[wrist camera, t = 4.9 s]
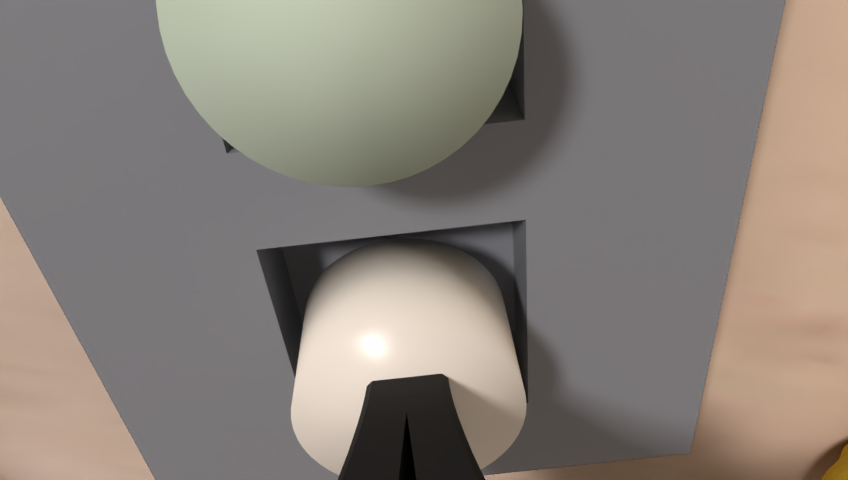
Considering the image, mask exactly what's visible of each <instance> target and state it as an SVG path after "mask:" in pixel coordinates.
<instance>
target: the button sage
mask: <svg viewBox="0 0 848 480" xmlns="http://www.w3.org/2000/svg"><path fill="white" fill-rule="evenodd" d="M156 8H157V15H158V23H159V30H160V33H161V37H162V41H163V45H164V49H165V52H166V55H167V57H168V60H169V62H170V65H171V67H172V70H173V72H174V75H175V76H176V78H177V80H178V82H179V84H180V85H181V87H182V89H183V91H184V93H185V95H186V96H187V97H188V99H189V100H190V102H191V103H192V104H193V106H194V107H195V109H196V110H197V111H198V113H199V114H200V115H201V116H202V117H203V119H204V120H205V121H206V122H207V123H208V124H209V125H210V126H211V127H212V129H213V130H214V131H215V132H216V133H218V134H219V135H220V136H221V137H222V138H223V139H224V140H226V141H227V142H228V143H229V144H230V145H231V146H233V147H234V148H236V149H237V150H238V151H240V152H241V153H243V154H244V155H245V156H247V157H248V158H250V159H252V160H254V161H255V162H257V163H259V164H261V165H263V166H265V167H266V168H268V169H271V170H273V171H275V172H278V173H280V174H283V175H285V176H288V177H291V178H294V179H298V180H301V181H305V182H308V183H314V184H320V185H326V186H338V187H361V186H373V185H379V184H384V183H390V182H393V181H397V180H400V179H404V178H407V177H410V176H412V175H415V174H417V173H420V172H422V171H424V170H427V169H429V168H430V167H432V166H434V165H436V164H437V163H439V162H441V161H443V160H444V159H446V158H447V157H449V156H450V155H451V154H453V153H454V152H455V151H457V150H458V149H459V148H461V147H462V146H463V145H464V144H465V143H466V142H467V141H468V140H469V139H470V138H471V137H472V136H473V135H475V134H476V133H477V131H478V130H479V129H480V128H481V127H482V125H483V124H484V123H485V122H486V120H487V119H488V118H489V117H490V115H491V114H492V112H493V111H494V109H495V107H496V106H497V104H498V103H499V101H500V99H501V98H502V96H503V94H504V91H505V89H506V87H507V85H508V83H509V81H510V78H511V76H512V72H513V69H514V66H515V63H516V60H517V57H518V51H519V46H520V40H521V35H522V16H523V7H522V0H156Z"/></svg>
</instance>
